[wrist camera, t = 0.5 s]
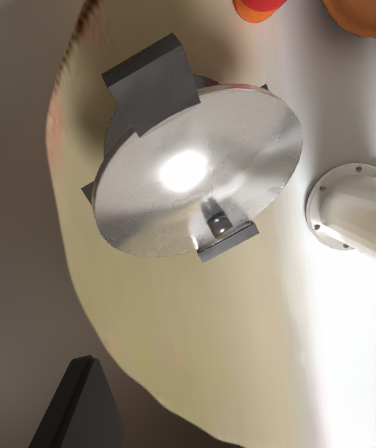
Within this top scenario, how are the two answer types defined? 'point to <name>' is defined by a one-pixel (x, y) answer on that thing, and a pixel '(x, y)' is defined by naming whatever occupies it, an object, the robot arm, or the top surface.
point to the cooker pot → (122, 124)
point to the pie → (354, 15)
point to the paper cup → (256, 9)
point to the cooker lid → (189, 156)
